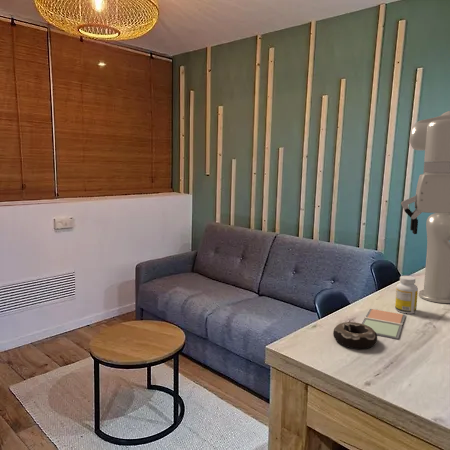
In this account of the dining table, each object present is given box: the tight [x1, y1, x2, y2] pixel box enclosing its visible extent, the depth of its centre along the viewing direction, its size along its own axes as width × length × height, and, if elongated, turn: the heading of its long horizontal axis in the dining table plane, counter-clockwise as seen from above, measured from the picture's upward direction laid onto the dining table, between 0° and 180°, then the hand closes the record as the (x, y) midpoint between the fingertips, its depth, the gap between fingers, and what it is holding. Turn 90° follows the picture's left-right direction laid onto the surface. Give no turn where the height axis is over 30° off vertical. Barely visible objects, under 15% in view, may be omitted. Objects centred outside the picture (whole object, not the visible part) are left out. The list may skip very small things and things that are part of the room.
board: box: [361, 308, 406, 340], centre depth 122 cm, size 20×11×1 cm, turn 150°
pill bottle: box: [394, 275, 419, 315], centre depth 131 cm, size 6×6×12 cm
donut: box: [332, 321, 378, 350], centre depth 109 cm, size 12×12×4 cm
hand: (434, 234), depth 104 cm, fingers open, 9 cm apart
